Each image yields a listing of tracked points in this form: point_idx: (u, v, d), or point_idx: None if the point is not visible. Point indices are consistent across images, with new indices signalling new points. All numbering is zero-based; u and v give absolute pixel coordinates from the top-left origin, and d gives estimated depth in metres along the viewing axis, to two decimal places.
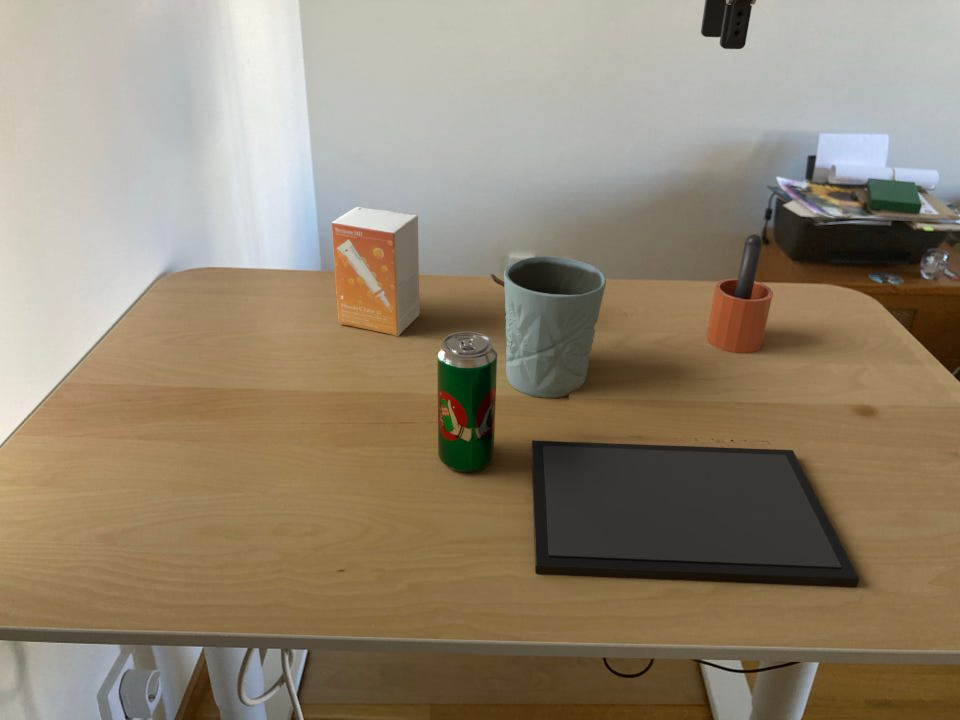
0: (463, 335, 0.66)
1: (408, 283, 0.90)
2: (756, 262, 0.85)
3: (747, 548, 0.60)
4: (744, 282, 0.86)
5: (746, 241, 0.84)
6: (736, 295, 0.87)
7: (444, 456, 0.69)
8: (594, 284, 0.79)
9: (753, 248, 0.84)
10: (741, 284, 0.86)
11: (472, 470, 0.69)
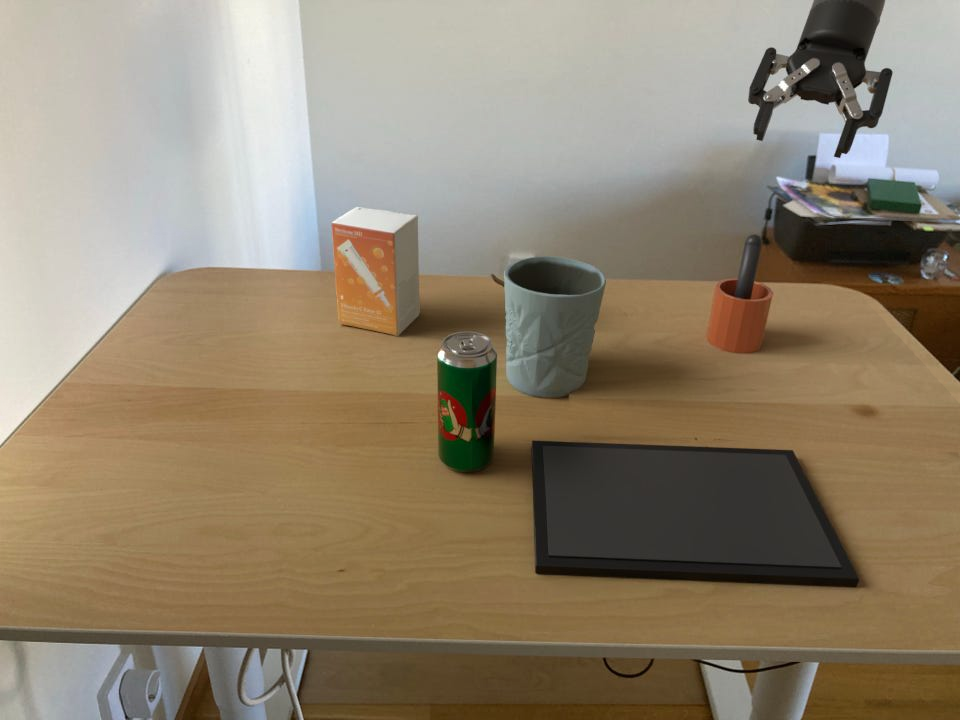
0: (463, 335, 0.66)
1: (408, 283, 0.90)
2: (756, 262, 0.85)
3: (747, 548, 0.60)
4: (744, 282, 0.86)
5: (746, 241, 0.84)
6: (736, 295, 0.87)
7: (444, 456, 0.69)
8: (594, 284, 0.79)
9: (753, 248, 0.84)
10: (741, 284, 0.86)
11: (472, 470, 0.69)
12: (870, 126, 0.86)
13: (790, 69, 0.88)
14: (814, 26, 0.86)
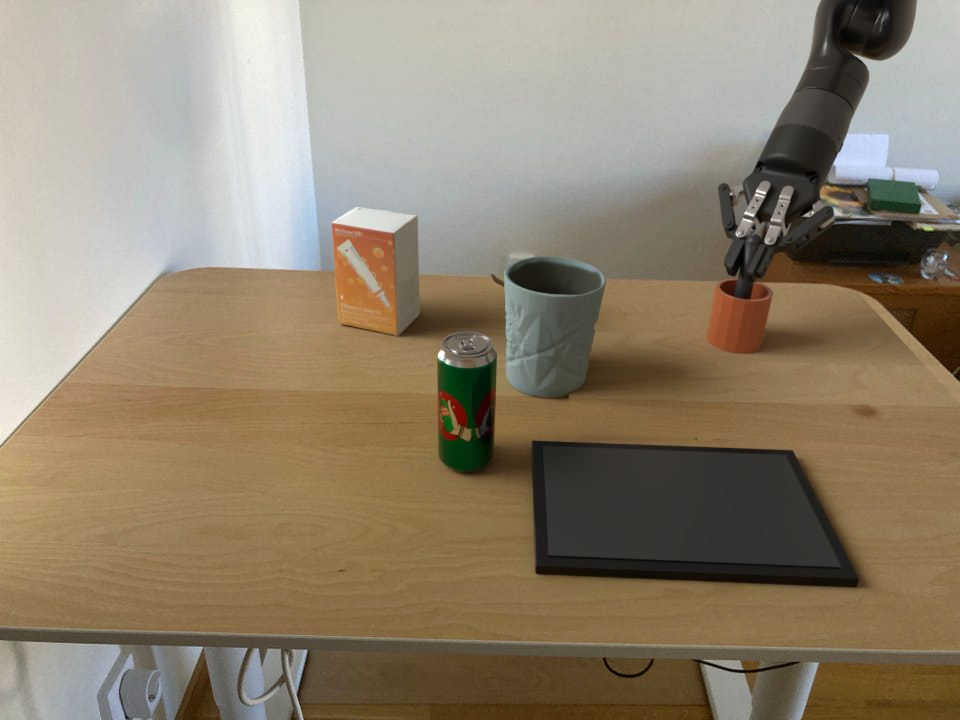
0: (463, 335, 0.66)
1: (408, 283, 0.90)
2: None
3: (747, 548, 0.60)
4: (744, 282, 0.86)
5: (746, 241, 0.84)
6: (736, 295, 0.87)
7: (444, 456, 0.69)
8: (594, 284, 0.79)
9: (753, 248, 0.84)
10: (741, 284, 0.86)
11: (472, 470, 0.69)
12: (785, 250, 0.84)
13: None
14: (766, 149, 0.86)
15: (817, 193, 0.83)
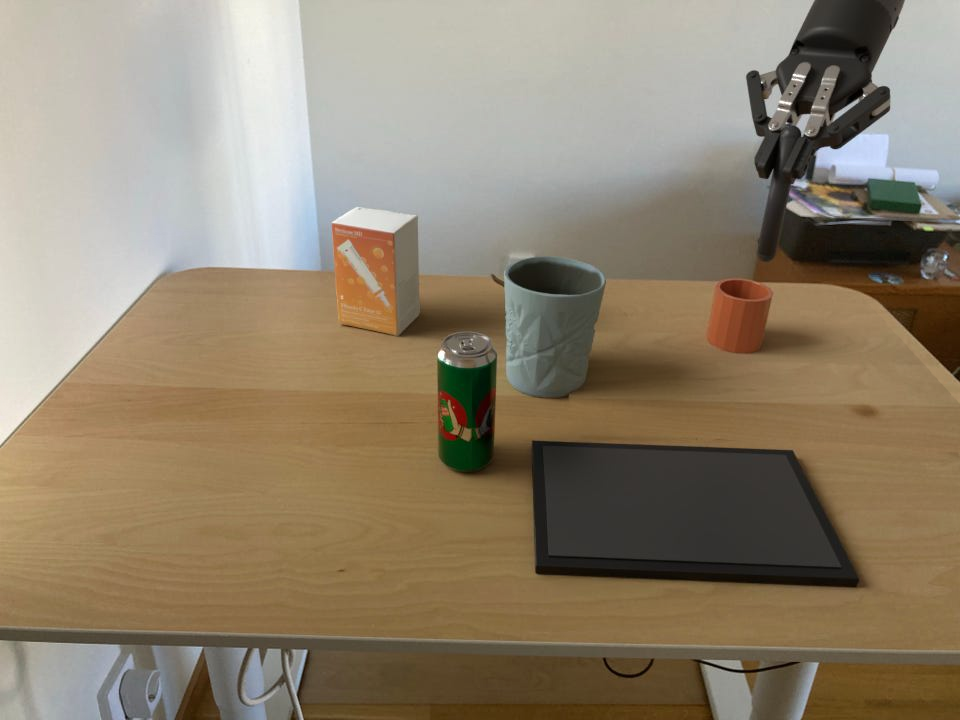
0: (463, 335, 0.66)
1: (408, 283, 0.90)
2: None
3: (747, 548, 0.60)
4: (778, 186, 0.71)
5: (781, 134, 0.70)
6: (768, 203, 0.72)
7: (444, 456, 0.69)
8: (594, 284, 0.79)
9: (790, 142, 0.69)
10: (774, 188, 0.71)
11: (472, 470, 0.69)
12: (830, 144, 0.69)
13: None
14: (805, 25, 0.71)
15: (869, 73, 0.68)
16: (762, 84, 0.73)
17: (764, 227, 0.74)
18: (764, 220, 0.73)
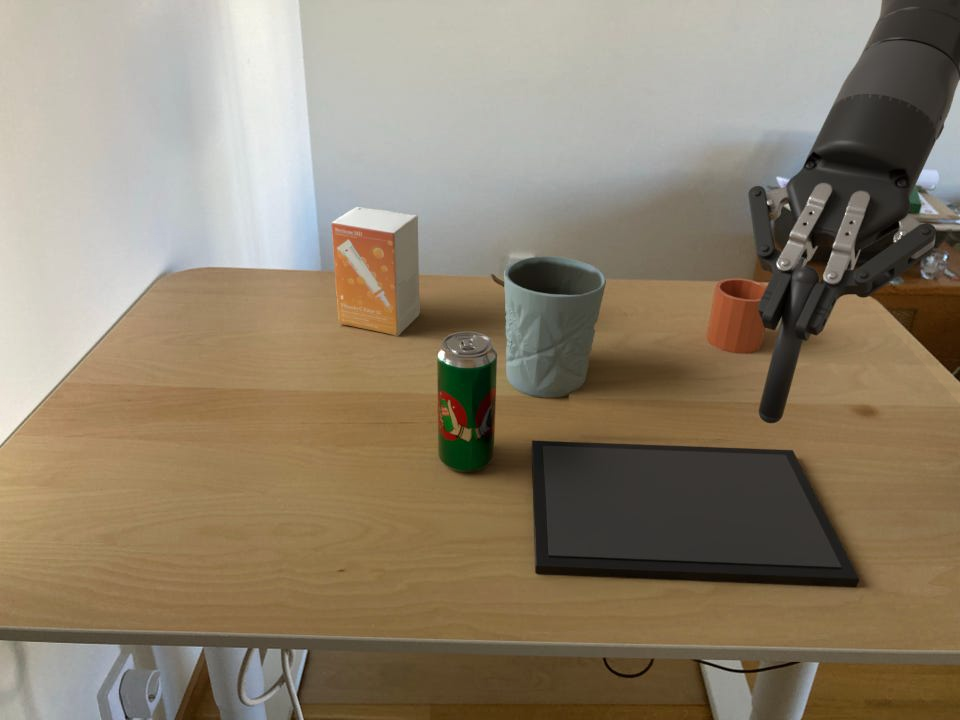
0: (463, 335, 0.66)
1: (408, 283, 0.90)
2: None
3: (747, 548, 0.60)
4: (788, 339, 0.56)
5: (794, 277, 0.54)
6: (775, 357, 0.57)
7: (444, 456, 0.69)
8: (594, 284, 0.79)
9: (805, 288, 0.54)
10: (783, 341, 0.56)
11: (472, 470, 0.69)
12: (855, 291, 0.54)
13: None
14: (825, 135, 0.55)
15: (907, 203, 0.53)
16: (769, 205, 0.57)
17: (769, 384, 0.58)
18: (769, 375, 0.58)
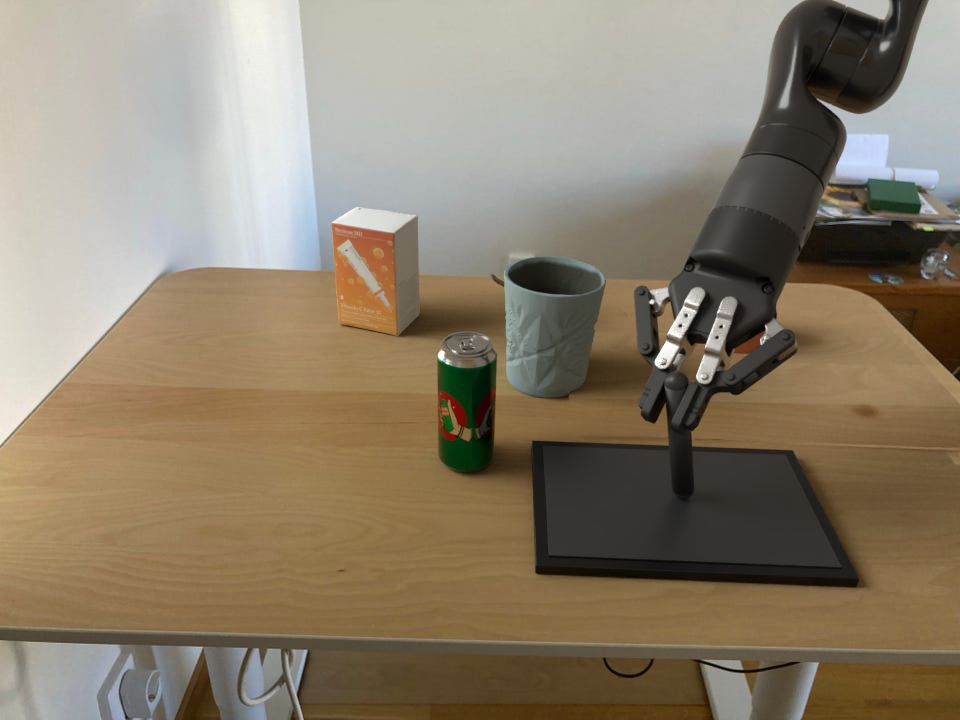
0: (463, 335, 0.66)
1: (408, 283, 0.90)
2: None
3: (747, 548, 0.60)
4: (669, 431, 0.61)
5: None
6: None
7: (444, 456, 0.69)
8: (594, 284, 0.79)
9: (667, 392, 0.58)
10: None
11: (472, 470, 0.69)
12: (728, 389, 0.58)
13: None
14: (700, 242, 0.59)
15: (771, 309, 0.57)
16: (651, 305, 0.61)
17: None
18: None
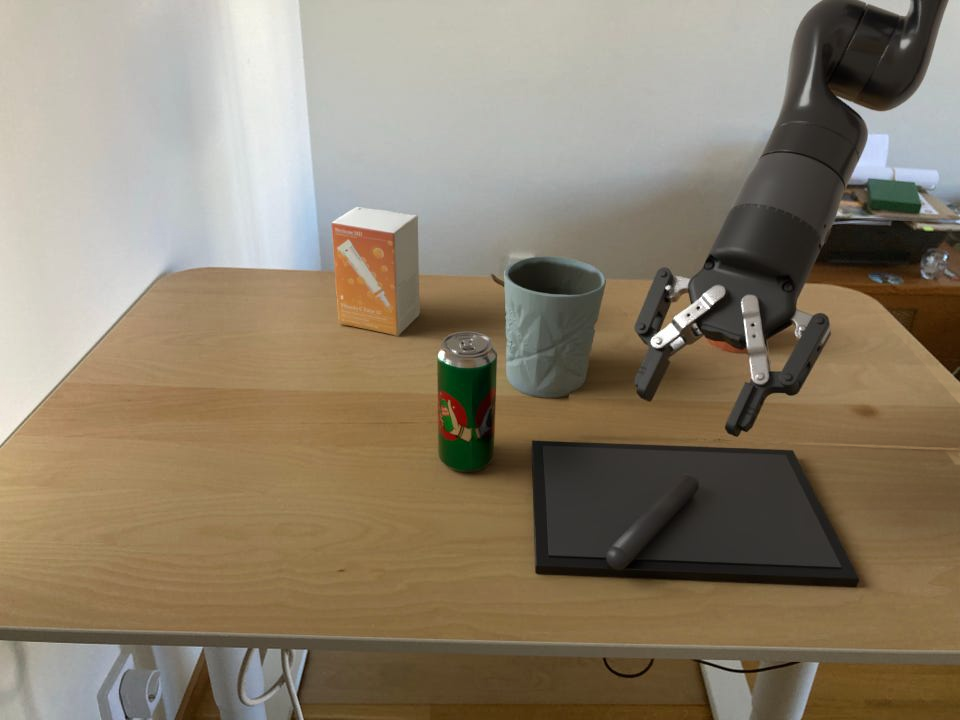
0: (463, 335, 0.66)
1: (408, 283, 0.90)
2: None
3: (747, 548, 0.60)
4: None
5: (608, 549, 0.58)
6: (649, 507, 0.62)
7: (444, 456, 0.69)
8: (594, 284, 0.79)
9: None
10: None
11: (472, 470, 0.69)
12: (786, 392, 0.57)
13: None
14: (720, 240, 0.60)
15: (792, 307, 0.57)
16: (666, 290, 0.62)
17: None
18: (660, 496, 0.63)
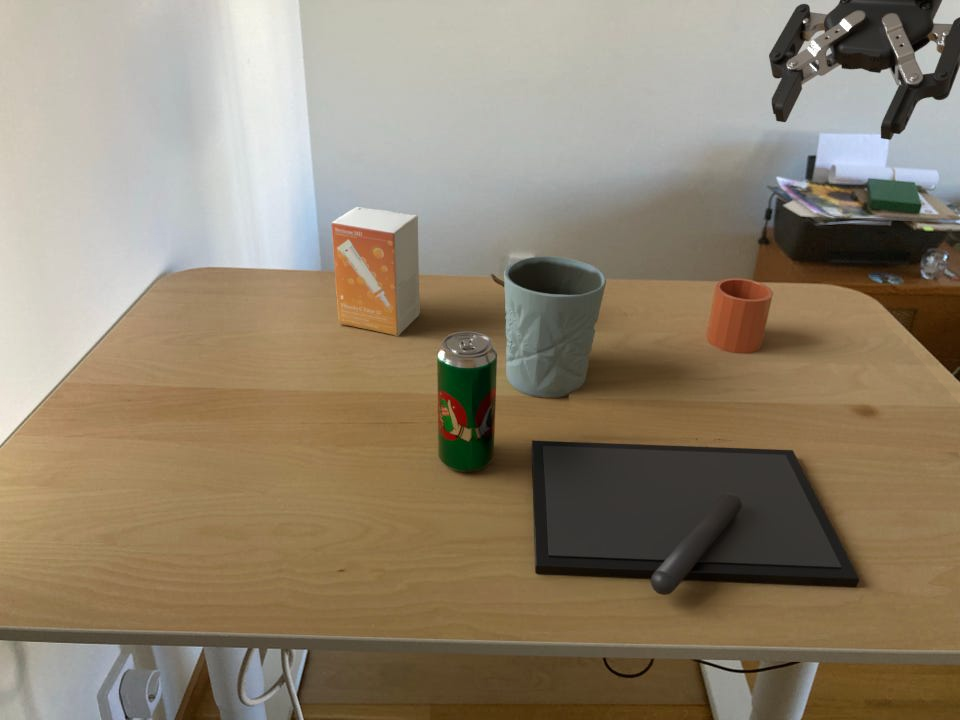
0: (463, 335, 0.66)
1: (408, 283, 0.90)
2: (687, 566, 0.56)
3: (747, 548, 0.60)
4: None
5: None
6: None
7: (444, 456, 0.69)
8: (594, 284, 0.79)
9: None
10: None
11: (472, 470, 0.69)
12: (937, 96, 0.61)
13: (827, 29, 0.66)
14: None
15: (930, 22, 0.62)
16: (803, 23, 0.67)
17: None
18: None
